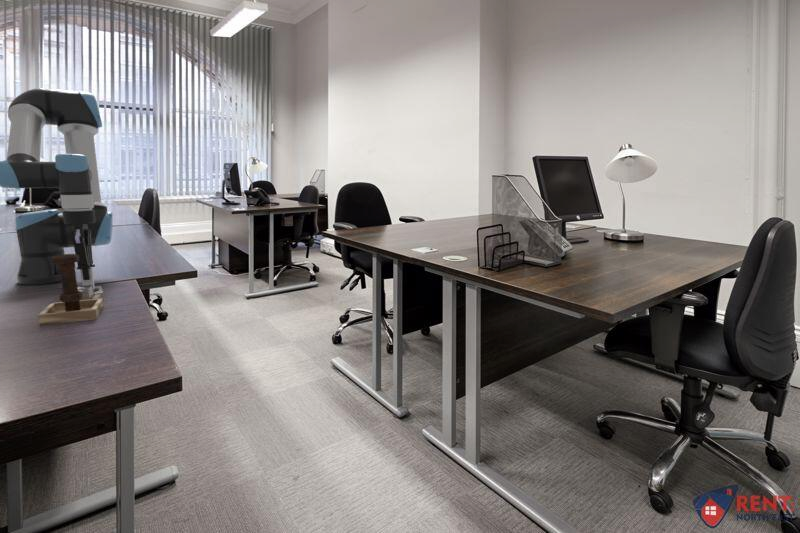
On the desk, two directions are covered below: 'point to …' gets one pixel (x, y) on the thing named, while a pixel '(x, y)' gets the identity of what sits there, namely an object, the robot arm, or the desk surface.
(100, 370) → the desk surface
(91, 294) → the grey rectangular block
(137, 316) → the desk surface
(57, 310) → the socket
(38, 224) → the robot arm
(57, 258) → the bolt
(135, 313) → the desk surface
